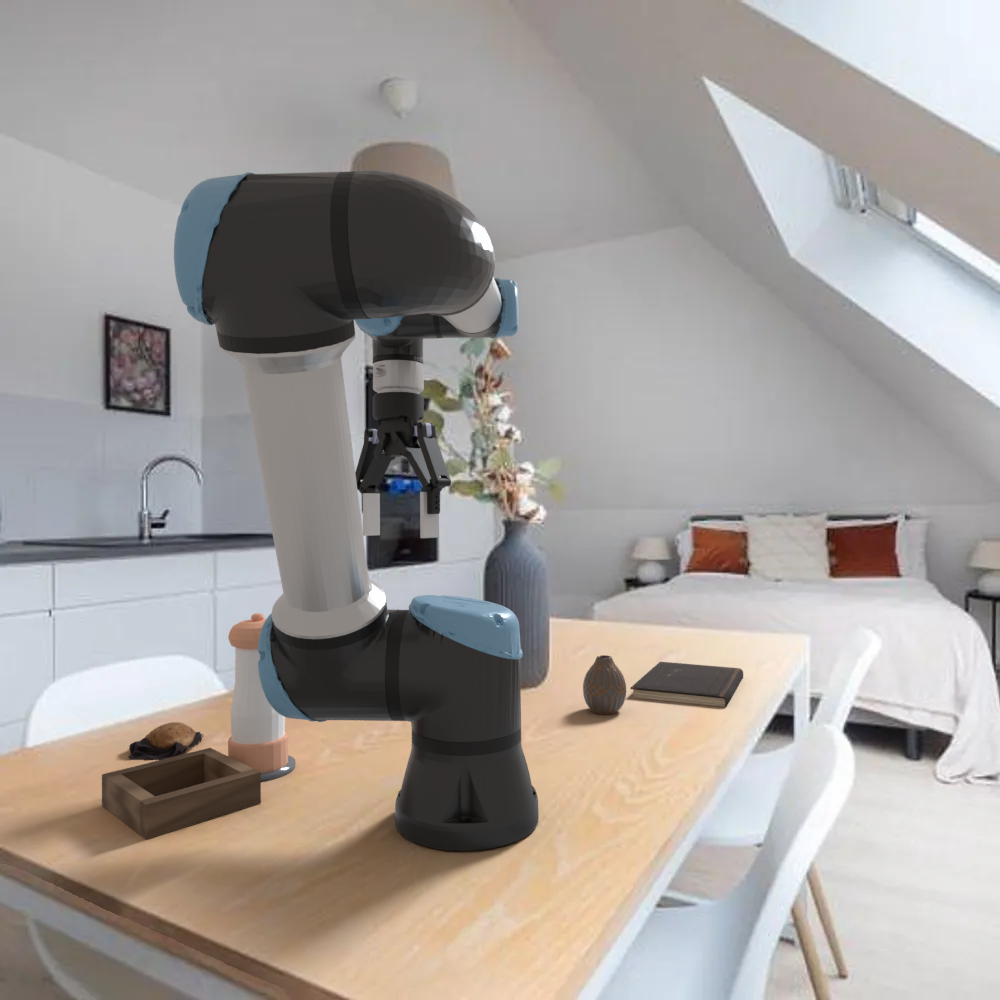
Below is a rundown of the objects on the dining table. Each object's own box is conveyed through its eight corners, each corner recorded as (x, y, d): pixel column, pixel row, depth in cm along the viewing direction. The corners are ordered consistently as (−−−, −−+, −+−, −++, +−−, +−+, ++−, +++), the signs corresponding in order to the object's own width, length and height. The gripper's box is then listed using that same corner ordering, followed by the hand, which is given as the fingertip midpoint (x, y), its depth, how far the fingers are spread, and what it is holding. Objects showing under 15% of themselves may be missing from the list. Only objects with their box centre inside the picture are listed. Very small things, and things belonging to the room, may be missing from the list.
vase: (634, 710, 121) (634, 656, 121) (610, 719, 116) (609, 663, 116) (599, 703, 126) (599, 650, 126) (574, 711, 121) (574, 657, 121)
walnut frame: (260, 803, 84) (260, 772, 84) (146, 839, 75) (145, 804, 75) (210, 775, 93) (210, 747, 93) (101, 805, 84) (101, 774, 84)
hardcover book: (630, 700, 129) (630, 687, 129) (659, 673, 150) (659, 661, 150) (726, 710, 123) (726, 696, 123) (743, 680, 144) (743, 668, 144)
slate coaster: (308, 768, 95) (308, 763, 95) (242, 788, 89) (242, 783, 89) (272, 752, 102) (272, 748, 102) (207, 770, 95) (207, 765, 95)
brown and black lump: (151, 740, 110) (150, 715, 110) (210, 738, 110) (209, 713, 110) (117, 765, 99) (117, 737, 99) (182, 763, 99) (182, 735, 99)
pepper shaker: (223, 777, 91) (222, 618, 91) (232, 757, 98) (231, 610, 98) (285, 772, 92) (284, 616, 93) (290, 753, 100) (289, 608, 100)
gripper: (329, 399, 117) (330, 535, 117) (434, 380, 100) (435, 539, 100) (368, 404, 123) (369, 533, 123) (475, 386, 106) (476, 537, 105)
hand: (399, 536), depth 111 cm, fingers open, 13 cm apart
